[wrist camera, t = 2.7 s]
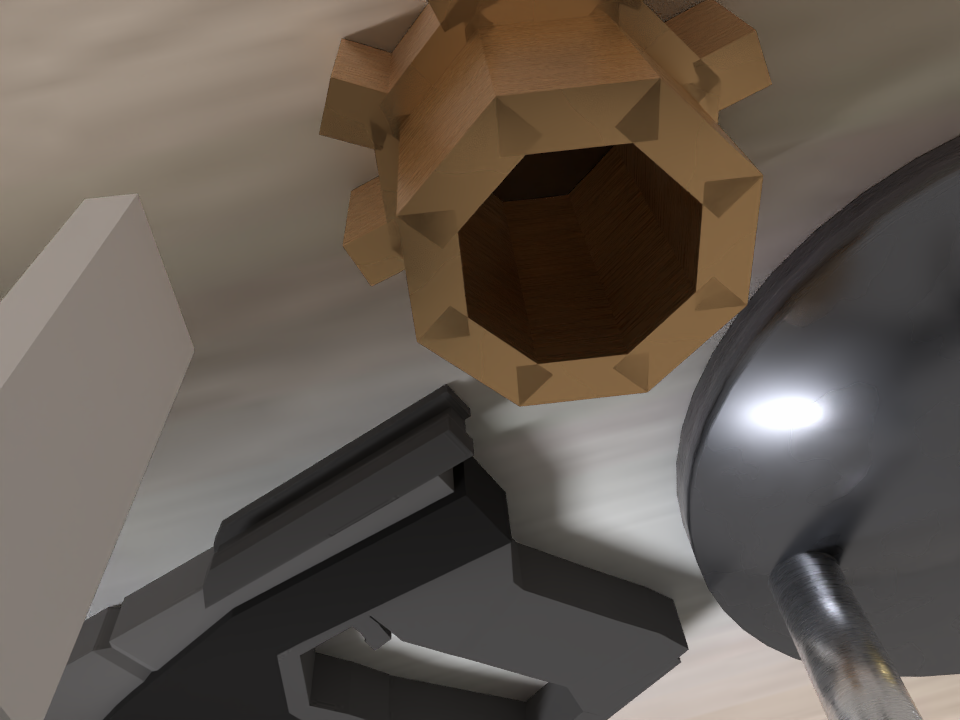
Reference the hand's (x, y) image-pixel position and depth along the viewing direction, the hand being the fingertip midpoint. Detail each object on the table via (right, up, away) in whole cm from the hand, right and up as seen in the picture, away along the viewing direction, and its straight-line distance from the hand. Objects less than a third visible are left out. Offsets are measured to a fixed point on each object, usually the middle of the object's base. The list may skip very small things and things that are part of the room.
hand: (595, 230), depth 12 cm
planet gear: (-1, +3, +4) cm, 5 cm away
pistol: (-8, -13, +16) cm, 22 cm away
